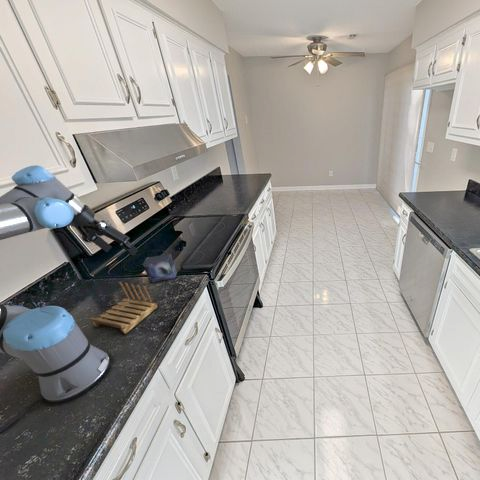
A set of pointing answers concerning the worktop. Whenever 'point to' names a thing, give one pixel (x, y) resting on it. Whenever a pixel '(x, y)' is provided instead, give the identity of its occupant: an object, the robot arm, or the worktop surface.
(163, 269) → the small box
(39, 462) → the worktop surface
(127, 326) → the dish rack
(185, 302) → the worktop surface
